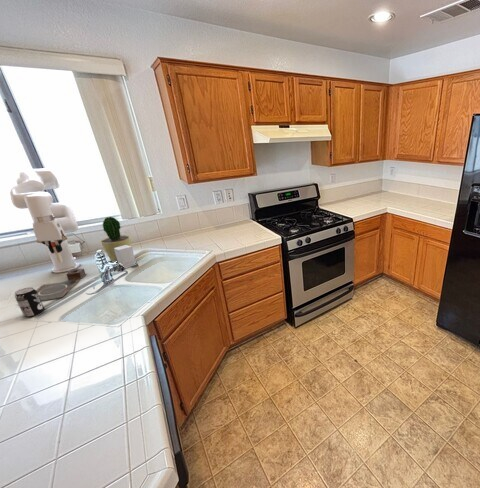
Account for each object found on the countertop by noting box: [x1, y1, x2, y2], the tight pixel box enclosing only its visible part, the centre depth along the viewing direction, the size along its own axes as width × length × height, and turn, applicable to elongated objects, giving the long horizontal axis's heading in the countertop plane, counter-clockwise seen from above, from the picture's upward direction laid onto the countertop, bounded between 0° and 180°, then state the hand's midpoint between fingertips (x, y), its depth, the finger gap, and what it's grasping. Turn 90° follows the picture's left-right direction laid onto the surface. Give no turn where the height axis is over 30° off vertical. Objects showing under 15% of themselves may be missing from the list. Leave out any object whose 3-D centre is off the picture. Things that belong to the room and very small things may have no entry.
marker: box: [51, 242, 63, 263], centre depth 140 cm, size 2×2×12 cm
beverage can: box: [14, 286, 45, 318], centre depth 117 cm, size 7×7×12 cm
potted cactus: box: [100, 216, 132, 262], centre depth 171 cm, size 15×15×30 cm
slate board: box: [35, 279, 81, 302], centre depth 137 cm, size 20×16×1 cm
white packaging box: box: [114, 245, 138, 269], centre depth 165 cm, size 7×7×13 cm
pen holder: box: [65, 268, 87, 281], centre depth 152 cm, size 6×6×4 cm
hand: (56, 251), depth 140 cm, fingers closed on marker, 2 cm apart
